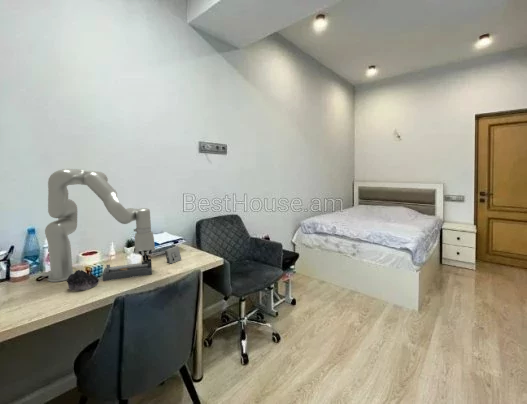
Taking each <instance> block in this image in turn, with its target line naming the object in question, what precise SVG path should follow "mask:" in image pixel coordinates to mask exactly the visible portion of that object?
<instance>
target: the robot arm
mask: <svg viewBox="0 0 527 404" xmlns="http://www.w3.org/2000/svg"><path fill="white" fill-rule="evenodd" d="M108 179H109V178H108V176H107V174H105V173H104V172H102V171H95V170H94V171H93V170H87V169H78V168H61V169H58V170H56V171H54V172H52V173H51V174H50V175H49V177H48V181H47V188H48V189H47V191H48V192H47V193H48V195H47V213H48V215H49V216H50V217H51V218H52V219H53V218H54V219H57V220H54V221H51V222H50V223H48V224H47V225H46V226H45V229H44V234H45V238H46V242H47V247H48V256H49V266H50V270H49V271H44V272H41V273H40V276H41V277H42V278H44V277H47V281H48V282H50V283H51V282H52V283H58V282H65V281H67V279H68V277H69V276H70V275H71V274H74V273H75V272H76V271H74V270H73V258H72V257H73V256H72V247H71V246H72V245H71V241H70V238H69V235H72V234H73V233H75V231H76V230H77V227H78V205H77V203H76V202H75V201H74V200H72V199H69V190H68V186H74V185H82V186H83V185H84V186H87V187H88V189H90V190H91V191H92V192H93V193H94V195H96V197H98V198H99V199H100V200H101V201H102V203H103V205H104V207H105V208H106V210H107V212H108V213H109V214H110V215H111V217H112V218H113V219H114V220H116V221H117V222H118V223H120V224H122V225H127V224H130V223H132V222H134V221H135V226H136V228H133V232H135V234H134V253H136V254H139V255H141V256H142V261H144V262H147V260H149V259H150V258H149V255H150V254H151V253H152V252H154V251H156V247H155V236H154V232H153V231H152V226H151V225H152V224H151V210H150V209H149V208H145V207H144V208H143V207H141V208H135V207H134V208H132V207H130V208H129V207H128V208H125V206H123V204H122V203H121V202H120V201H119V198H118V193H117V191H116V189H115V188H114V187H112V185H111V184H110V183H109V182H108V181H109V180H108ZM145 252H146V253H145Z"/></svg>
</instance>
